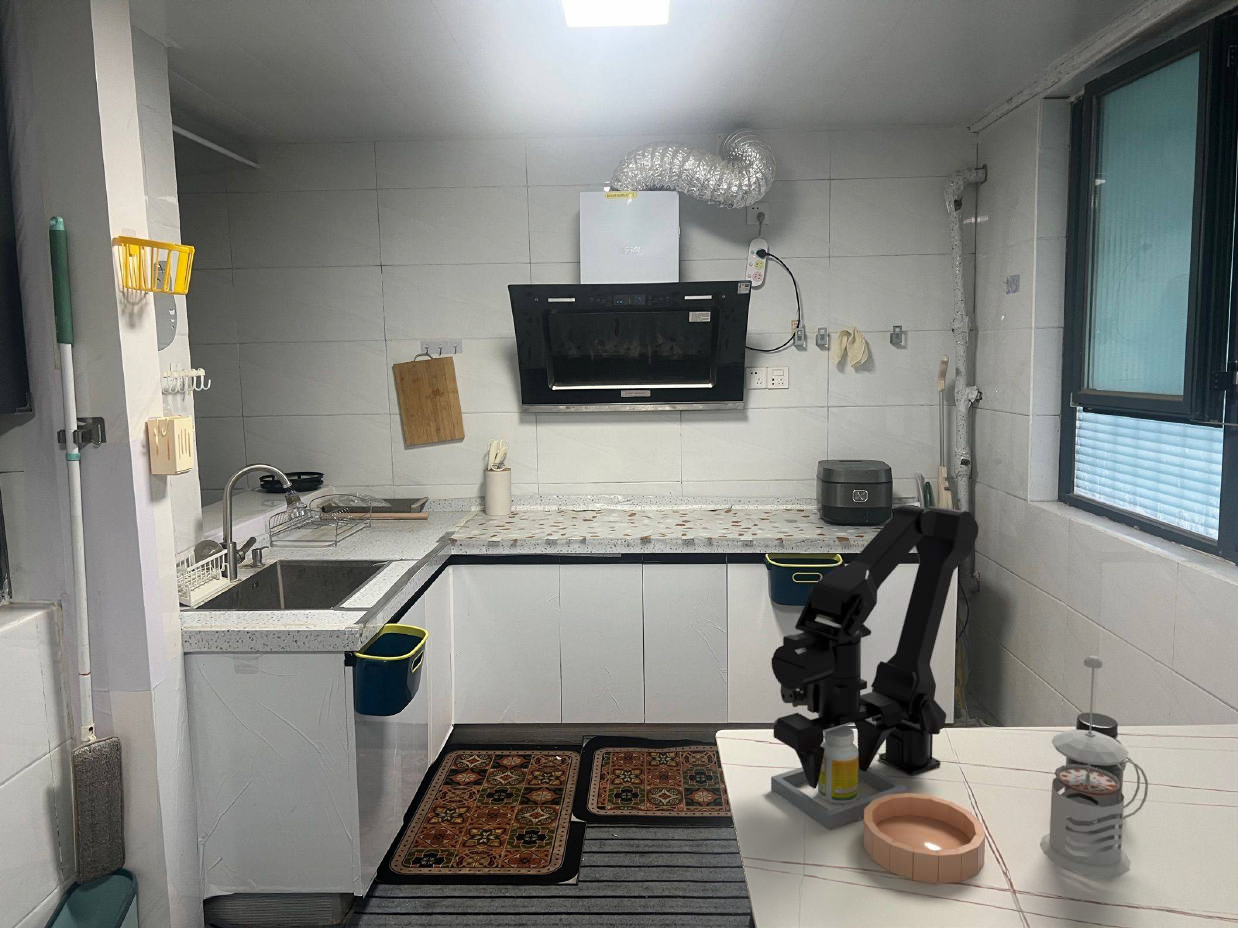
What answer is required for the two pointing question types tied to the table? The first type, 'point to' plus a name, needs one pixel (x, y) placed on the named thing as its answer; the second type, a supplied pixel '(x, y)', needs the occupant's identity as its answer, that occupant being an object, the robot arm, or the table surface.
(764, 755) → the table surface
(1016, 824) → the table surface
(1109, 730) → the supplement bottle
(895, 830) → the bowl
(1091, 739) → the french press
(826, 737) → the supplement bottle
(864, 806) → the open rectangular frame
